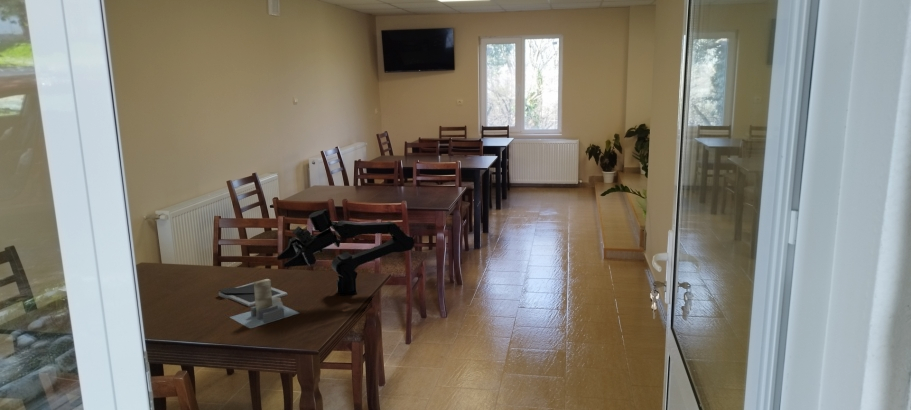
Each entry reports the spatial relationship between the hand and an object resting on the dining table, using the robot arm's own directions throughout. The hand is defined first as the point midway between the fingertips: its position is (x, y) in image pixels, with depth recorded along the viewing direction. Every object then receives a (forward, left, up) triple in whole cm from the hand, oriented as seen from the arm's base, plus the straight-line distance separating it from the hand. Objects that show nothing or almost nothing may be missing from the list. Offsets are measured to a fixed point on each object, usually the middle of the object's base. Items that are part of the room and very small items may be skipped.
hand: (280, 262), depth 213 cm
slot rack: (+6, +12, -15) cm, 20 cm away
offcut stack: (+3, +4, -15) cm, 16 cm away
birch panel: (+6, +12, -15) cm, 20 cm away
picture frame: (+11, -11, -16) cm, 22 cm away
